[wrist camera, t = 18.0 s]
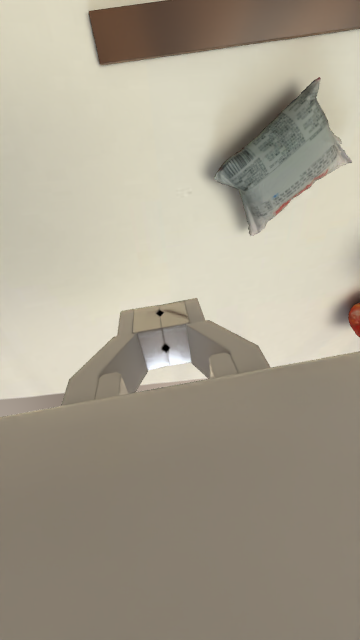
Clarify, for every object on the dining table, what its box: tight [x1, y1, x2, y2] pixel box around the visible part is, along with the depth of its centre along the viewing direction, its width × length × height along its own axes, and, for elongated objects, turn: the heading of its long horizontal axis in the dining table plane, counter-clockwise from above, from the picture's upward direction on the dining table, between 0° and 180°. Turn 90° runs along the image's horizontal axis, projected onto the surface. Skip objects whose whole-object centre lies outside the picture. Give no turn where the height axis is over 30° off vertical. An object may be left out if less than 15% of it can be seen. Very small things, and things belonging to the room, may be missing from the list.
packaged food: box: [214, 77, 352, 236], centre depth 26 cm, size 9×12×5 cm
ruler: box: [89, 0, 360, 65], centre depth 21 cm, size 28×3×1 cm, turn 97°
